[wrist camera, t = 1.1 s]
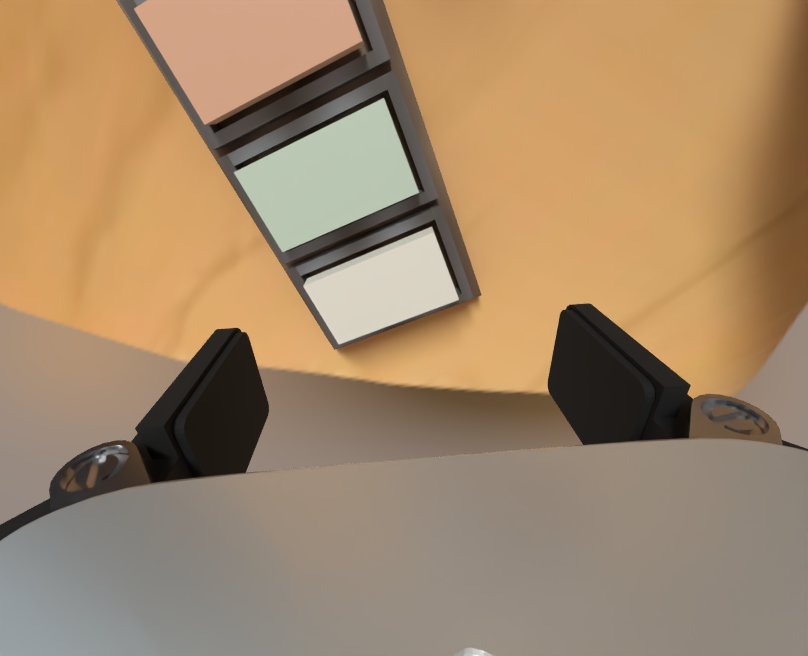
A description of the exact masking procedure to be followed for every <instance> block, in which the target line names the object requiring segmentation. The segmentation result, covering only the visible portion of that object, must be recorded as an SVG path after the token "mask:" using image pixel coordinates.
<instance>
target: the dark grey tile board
mask: <svg viewBox="0 0 808 656" xmlns="http://www.w3.org/2000/svg"><path fill="white" fill-rule="evenodd" d="M116 1H117V2H118V4H119V5H120V7H121V9H122V10H123V12H124V13H125V15H126V17H127V18H128V20H129V21H130V23H131V25H132V26H133V28H134V29H135V31H136V33H137V34H138V36H139V37H140V39H141V41H142V42H143V44H144V45H145V47H146V49H147V50H148V52H149V54H150V55H151V57H152V58H153V60H154V62H155V63H156V65H157V66H158V68H159V70H160V71H161V73H162V74H163V76H164V78H165V79H166V81H167V82H168V84H169V86H170V87H171V89H172V90H173V92H174V94H175V95H176V97H177V98H178V100H179V102H180V103H181V105H182V106H183V108H184V110H185V111H186V113H187V114H188V116H189V118H190V119H191V121H192V122H193V124H194V126H195V127H196V129H197V130H198V132H199V134H200V135H201V137H202V138H203V140H204V142H205V143H206V145H207V146H208V148H209V150H210V151H211V153H212V154H213V156H214V158H215V159H216V161H217V162H218V164H219V166H220V167H221V169H222V171H223V172H224V174H225V175H226V177H227V179H228V180H229V182H230V183H231V185H232V187H233V188H234V190H235V191H236V193H237V195H238V196H239V198H240V199H241V201H242V203H243V204H244V206H245V207H246V209H247V211H248V212H249V214H250V215H251V217H252V219H253V220H254V222H255V223H256V225H257V227H258V228H259V230H260V231H261V233H262V235H263V236H264V238H265V239H266V241H267V243H268V244H269V246H270V247H271V249H272V251H273V252H274V254H275V255H276V257H277V259H278V260H279V262H280V263H281V265H282V267H283V268H284V270H285V271H286V273H287V275H288V276H289V278H290V280H291V281H292V283H293V284H294V286H295V288H296V289H297V291H298V292H299V294H300V296H301V297H302V299H303V300H304V302H305V304H306V305H307V307H308V308H309V310H310V312H311V313H312V315H313V316H314V318H315V320H316V321H317V323H318V324H319V326H320V328H321V329H322V331H323V332H324V334H325V336H326V337H327V339H328V340H329V342H330V344H331V345H332V347H333V348H334V350H335V349H338V348H341V347H344V346H346V345H349V344H352V343H354V342H357V341H360V340H362V339H365V338H368V337H370V336H373V335H376V334H379V333H381V332H384V331H387V330H389V329H392V328H395V327H397V326H400V325H403V324H405V323H408V322H411V321H414V320H416V319H419V318H422V317H424V316H427V315H430V314H432V313H435V312H438V311H440V310H443V309H446V308H449V307H451V306H454V305H457V304H459V303H462V302H465V301H467V300H470V299H473V298H475V297H478V296H481V292H480V289H479V286H478V283H477V280H476V277H475V274H474V271H473V268H472V265H471V262H470V259H469V256H468V253H467V250H466V247H465V244H464V241H463V238H462V235H461V232H460V229H459V226H458V223H457V220H456V218H455V215H454V212H453V209H452V206H451V203H450V200H449V197H448V194H447V191H446V188H445V185H444V182H443V179H442V176H441V173H440V170H439V167H438V164H437V161H436V158H435V155H434V152H433V149H432V146H431V143H430V140H429V137H428V134H427V131H426V128H425V125H424V122H423V119H422V116H421V113H420V110H419V107H418V104H417V101H416V98H415V95H414V92H413V89H412V86H411V83H410V80H409V77H408V74H407V71H406V68H405V65H404V62H403V59H402V56H401V53H400V50H399V47H398V44H397V41H396V38H395V35H394V32H393V29H392V26H391V23H390V20H389V17H388V14H387V11H386V8H385V5H384V2H383V0H348V3H349V5H350V8H351V11H352V13H353V16H354V19H355V21H356V24H357V27H358V29H359V32H360V35H361V38H362V40H363V43H364V46H363V47H361V48H359V49H357V50H355V51H353V52H351V53H349V54H347V55H346V56H344V57H342V58H340V59H338V60H336V61H334V62H332V63H330V64H329V65H327V66H325V67H323V68H321V69H319V70H317V71H315V72H313V73H312V74H310V75H308V76H306V77H304V78H302V79H300V80H298V81H296V82H295V83H293V84H291V85H289V86H287V87H285V88H283V89H281V90H279V91H277V92H276V93H274V94H272V95H270V96H268V97H266V98H264V99H262V100H260V101H259V102H257V103H255V104H253V105H251V106H249V107H247V108H245V109H243V110H242V111H240V112H238V113H236V114H234V115H232V116H230V117H228V118H226V119H225V120H223V121H221V122H219V123H217V124H212V125H204V123H203V121H202V120H201V118H200V116H199V115H198V113H197V112H196V110H195V108H194V107H193V105H192V103H191V102H190V100H189V98H188V97H187V95H186V94H185V92H184V90H183V89H182V87H181V85H180V84H179V82H178V80H177V79H176V77H175V76H174V74H173V72H172V71H171V69H170V67H169V66H168V64H167V62H166V61H165V59H164V58H163V56H162V54H161V53H160V51H159V49H158V48H157V46H156V44H155V43H154V41H153V40H152V38H151V36H150V35H149V33H148V31H147V30H146V28H145V26H144V25H143V23H142V22H141V20H140V18H139V17H138V15H137V13H136V12H135V10H134V8H136V7H137V6H139V5H141V4H142V3H144V2H145V1H147V0H116ZM383 98H384V99H385V102H386V105H387V107H388V110H389V113H390V115H391V118H392V121H393V123H394V126H395V129H396V131H397V134H398V137H399V140H400V142H401V145H402V148H403V150H404V153H405V156H406V158H407V161H408V164H409V166H410V169H411V172H412V174H413V177H414V180H415V182H416V185H417V188H418V191H419V193H417V194H415V195H413V196H410V197H408V198H406V199H403V200H401V201H399V202H397V203H394V204H392V205H390V206H387V207H385V208H383V209H381V210H378V211H376V212H374V213H371V214H369V215H367V216H364V217H362V218H360V219H358V220H355V221H353V222H351V223H348V224H346V225H344V226H342V227H339V228H337V229H335V230H332V231H330V232H328V233H326V234H323V235H321V236H319V237H316V238H314V239H312V240H310V241H307V242H305V243H303V244H300V245H298V246H296V247H294V248H291V249H289V250H287V251H284V252H282V251H281V249H280V248H279V246H278V244H277V243H276V241H275V239H274V238H273V236H272V234H271V233H270V231H269V230H268V228H267V226H266V225H265V223H264V221H263V220H262V218H261V216H260V215H259V213H258V211H257V210H256V208H255V207H254V205H253V203H252V202H251V200H250V198H249V197H248V195H247V193H246V192H245V190H244V189H243V187H242V185H241V184H240V182H239V180H238V179H237V177H236V175H235V174H234V172H235V171H238V170H240V169H242V168H244V167H246V166H248V165H250V164H252V163H254V162H256V161H258V160H260V159H262V158H264V157H266V156H268V155H270V154H272V153H274V152H276V151H278V150H280V149H282V148H284V147H286V146H288V145H290V144H292V143H294V142H296V141H298V140H300V139H302V138H304V137H306V136H308V135H310V134H312V133H314V132H316V131H318V130H320V129H322V128H324V127H326V126H328V125H330V124H332V123H334V122H336V121H338V120H340V119H342V118H344V117H346V116H348V115H350V114H352V113H354V112H357V111H359V110H361V109H363V108H365V107H367V106H369V105H371V104H373V103H375V102H377V101H379V100H381V99H383ZM429 227H432V228H433V231H434V233H435V236H436V239H437V242H438V244H439V247H440V250H441V252H442V255H443V258H444V260H445V263H446V266H447V268H448V271H449V274H450V276H451V279H452V282H453V284H454V287H455V290H456V293H457V295H458V298H459V300H457V301H454V302H452V303H449V304H446V305H444V306H441V307H438V308H436V309H433V310H430V311H428V312H425V313H422V314H420V315H417V316H414V317H412V318H409V319H406V320H404V321H401V322H398V323H395V324H393V325H390V326H387V327H385V328H382V329H379V330H377V331H374V332H371V333H369V334H366V335H363V336H361V337H358V338H355V339H353V340H350V341H347V342H345V343H342V344H338V343H337V341H336V339H335V338H334V336H333V334H332V333H331V331H330V329H329V328H328V326H327V324H326V323H325V321H324V320H323V318H322V316H321V315H320V313H319V311H318V310H317V308H316V306H315V305H314V303H313V302H312V300H311V298H310V297H309V295H308V293H307V292H306V290H305V288H304V287H303V286H304V284H305V282H306V280H307V278H309V277H312V276H314V275H317V274H319V273H321V272H324V271H326V270H329V269H331V268H333V267H336V266H338V265H341V264H343V263H345V262H348V261H350V260H353V259H355V258H357V257H360V256H362V255H365V254H367V253H369V252H372V251H374V250H377V249H379V248H381V247H384V246H386V245H389V244H391V243H393V242H396V241H398V240H401V239H403V238H405V237H408V236H410V235H413V234H415V233H417V232H420V231H422V230H425V229H427V228H429Z"/></svg>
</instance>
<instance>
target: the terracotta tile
mask: <svg viewBox="0 0 808 656" xmlns="http://www.w3.org/2000/svg"><path fill="white" fill-rule="evenodd" d="M134 10H135V12H136V13H137V15H138V17H139V18H140V20H141V22H142V23H143V25H144V26H145V28H146V30H147V31H148V33H149V35H150V36H151V38H152V40H153V41H154V43H155V44H156V46H157V48H158V49H159V51H160V53H161V54H162V56H163V58H164V59H165V61H166V62H167V64H168V66H169V67H170V69H171V71H172V72H173V74H174V76H175V77H176V79H177V80H178V82H179V84H180V85H181V87H182V89H183V90H184V92H185V94H186V95H187V97H188V98H189V100H190V102H191V103H192V105H193V107H194V108H195V110H196V112H197V113H198V115H199V116H200V118H201V120H202V121H203V123H204V125H212V124H217V123H219V122H221V121H223V120H225V119H226V118H228V117H230V116H232V115H234V114H236V113H238V112H240V111H242V110H243V109H245V108H247V107H249V106H251V105H253V104H255V103H257V102H259V101H260V100H262V99H264V98H266V97H268V96H270V95H272V94H274V93H276V92H277V91H279V90H281V89H283V88H285V87H287V86H289V85H291V84H293V83H295V82H296V81H298V80H300V79H302V78H304V77H306V76H308V75H310V74H312V73H313V72H315V71H317V70H319V69H321V68H323V67H325V66H327V65H329V64H330V63H332V62H334V61H336V60H338V59H340V58H342V57H344V56H346V55H347V54H349V53H351V52H353V51H355V50H357V49H359V48H361V47H363V46H364V43H363V40H362V38H361V35H360V32H359V29H358V27H357V24H356V21H355V19H354V16H353V13H352V11H351V8H350V5H349V3H348V0H147V1H145V2H144V3H142V4H141V5H139V6H137V7H136V8H134Z"/></svg>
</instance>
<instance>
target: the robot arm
mask: <svg viewBox="0 0 808 656" xmlns="http://www.w3.org/2000/svg"><path fill="white" fill-rule="evenodd" d="M690 386H691V385H690V384H688V383H687V382H686V381H685V380H683V379H682V378H681V377H680V376H679V375H677V374H676V373H675V372H674V371H672V370H671V369H670V368H669V367H668V366H666V365H665V364H664V363H663V362H661V361H660V360H659V359H658V358H656V357H655V356H654V355H653V354H652V353H650V352H649V351H648V350H647V349H645V348H644V347H643V346H642V345H641V344H639V343H638V342H637V341H636V340H634V339H633V338H632V337H631V336H629V335H628V334H627V333H626V332H625V331H623V330H622V329H621V328H620V327H618V326H617V325H616V324H615V323H614V322H612V321H611V320H610V319H609V318H607V317H606V316H605V315H604V314H602V313H601V312H600V311H599V310H598V309H596V308H595V307H594V306H593V305H591V304H575V305H569V306H567V308H566V310H563V311H562V312H561V314H560V318H559V324H558V329H557V334H556V340H555V345H554V351H553V356H552V362H551V367H550V373H549V378H548V390H549V393H550V394H551V396H552V397H553V399H554V401H555V402H556V404H557V405H558V407H559V408H560V410H561V411H562V413H563V414H564V416H565V417H566V419H567V421H568V422H569V424H570V425H571V427H572V428H573V430H574V431H575V433H576V434H577V436H578V437H579V439H580V440H581V442H582V444H583V445H576V446H563V447H551V448H537V449H525V450H513V451H501V452H488V453H476V454H464V455H452V456H440V457H427V458H415V459H404V460H392V461H378V462H366V463H354V464H342V465H329V466H319V467H306V468H295V469H284V470H273V471H261V472H249V473H246V470H247V468H248V465H249V462H250V460H251V457H252V455H253V452H254V450H255V447H256V444H257V442H258V439H259V437H260V434H261V432H262V429H263V427H264V424H265V422H266V419H267V416H268V413H269V405H268V401H267V397H266V394H265V391H264V387H263V384H262V380H261V377H260V374H259V370H258V367H257V364H256V360H255V357H254V353H253V350H252V347H251V343H250V340H249V337H248V335H247V333H245V332H241V330H240V329H239V328H229V329H217V330H216V331H215V332H214V333H213V334H212V335H211V337H210V338H209V339H208V340H207V341H206V343H205V344H204V345H203V346H202V347H201V349H200V350H199V351H198V352H197V354H196V355H195V356H194V357H193V358H192V360H191V361H190V362H189V363H188V365H187V366H186V367H185V368H184V369H183V371H182V372H181V373H180V374H179V375H178V377H177V378H176V379H175V380H174V382H173V383H172V384H171V385H170V386H169V388H168V389H167V390H166V391H165V393H164V394H163V395H162V397H160V399H159V400H158V401H157V402H156V404H155V405H154V406H153V407H152V408H151V410H150V411H149V412H148V413H147V414H146V416H145V417H144V418H143V419H142V420H141V422H140V423H139V424H138V425H137V427H136V428H135V429H136V431H137V433H138V434H137V435H136V436H135V438H134V439H133V440H132V441H131V442H130V441H126V440H117V441H111V442H107V443H103V444H100V445H97V446H95V447H92V448H90V449H88V450H86V451H84V452H83V453H81V454H79V455H77V456H76V457H74V458H73V459H72V460H70V461H69V462H67V463H66V464H65V465H64V466H63V467H62V468H61V469H60V470H59V471H58V472H57V473H56V475H55V476H54V477H53V479H52V481H51V483H50V488H49V494H50V499H48V500H46V501H44V502H42V503H41V504H38V505H37V506H35V507H33V508H31V509H29V510H27V511H25V512H24V513H22V514H20V515H18V516H16V517H14V518H12V519H10V520H9V521H7V522H5V523H3V524H1V525H0V656H808V449H806V448H803V447H800V446H797V445H794V444H791V443H789V442H786V441H783V440H782V439H781V434H780V429H779V427H778V426H777V424H776V422H775V421H774V420H773V419H772V418H771V417H770V416H769V415H768V414H766V413H765V412H763V411H762V410H760V409H759V408H757V407H755V406H753V405H751V404H749V403H747V402H744V401H741V400H738V399H736V398H733V397H728V396H723V395H716V394H705V395H700V396H698V397H696V398H694V400H693V399H692V398H691V397H690V396H689V395H688V394H687V393H688V390H689V388H690Z"/></svg>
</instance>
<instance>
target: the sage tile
mask: <svg viewBox="0 0 808 656" xmlns="http://www.w3.org/2000/svg"><path fill="white" fill-rule="evenodd" d="M234 174H235V175H236V177H237V179H238V180H239V182H240V184H241V185H242V187H243V189H244V190H245V192H246V193H247V195H248V197H249V198H250V200H251V202H252V203H253V205H254V207H255V208H256V210H257V211H258V213H259V215H260V216H261V218H262V220H263V221H264V223H265V225H266V226H267V228H268V230H269V231H270V233H271V234H272V236H273V238H274V239H275V241H276V243H277V244H278V246H279V248H280V249H281V251H282V252H284V251H287V250H289V249H291V248H294V247H296V246H298V245H300V244H303V243H305V242H307V241H310V240H312V239H314V238H316V237H319V236H321V235H323V234H326V233H328V232H330V231H332V230H335V229H337V228H339V227H342V226H344V225H346V224H348V223H351V222H353V221H355V220H358V219H360V218H362V217H364V216H367V215H369V214H371V213H374V212H376V211H378V210H381V209H383V208H385V207H387V206H390V205H392V204H394V203H397V202H399V201H401V200H403V199H406V198H408V197H410V196H413V195H415V194H417V193H419V191H418V188H417V185H416V182H415V180H414V177H413V174H412V172H411V169H410V166H409V164H408V161H407V158H406V156H405V153H404V150H403V148H402V145H401V142H400V140H399V137H398V134H397V131H396V129H395V126H394V123H393V121H392V118H391V115H390V113H389V110H388V107H387V105H386V102H385V99H384V98H383V99H381V100H379V101H377V102H375V103H373V104H371V105H369V106H367V107H365V108H363V109H361V110H359V111H357V112H354V113H352V114H350V115H348V116H346V117H344V118H342V119H340V120H338V121H336V122H334V123H332V124H330V125H328V126H326V127H324V128H322V129H320V130H318V131H316V132H314V133H312V134H310V135H308V136H306V137H304V138H302V139H300V140H298V141H296V142H294V143H292V144H290V145H288V146H286V147H284V148H282V149H280V150H278V151H276V152H274V153H272V154H270V155H268V156H266V157H264V158H262V159H260V160H258V161H256V162H254V163H252V164H250V165H248V166H246V167H244V168H242V169H240V170H238V171H235V172H234Z"/></svg>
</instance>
